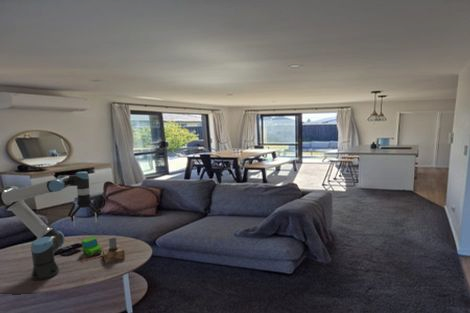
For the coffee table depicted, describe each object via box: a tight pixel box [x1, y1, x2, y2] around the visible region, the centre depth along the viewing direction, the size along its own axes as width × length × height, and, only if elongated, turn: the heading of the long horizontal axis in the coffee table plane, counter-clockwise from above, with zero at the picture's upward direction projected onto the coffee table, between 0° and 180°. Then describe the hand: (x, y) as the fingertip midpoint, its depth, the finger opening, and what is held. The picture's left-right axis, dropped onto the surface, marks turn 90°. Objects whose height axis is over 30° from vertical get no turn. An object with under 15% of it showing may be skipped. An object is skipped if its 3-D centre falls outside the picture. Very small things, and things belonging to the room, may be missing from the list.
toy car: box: [81, 237, 103, 257], centre depth 220 cm, size 10×13×10 cm
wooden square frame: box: [102, 243, 125, 264], centre depth 213 cm, size 13×13×6 cm
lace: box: [80, 254, 103, 263], centre depth 213 cm, size 17×4×1 cm, turn 130°
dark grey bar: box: [108, 235, 118, 251], centre depth 213 cm, size 4×4×15 cm
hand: (85, 224), depth 204 cm, fingers open, 13 cm apart
